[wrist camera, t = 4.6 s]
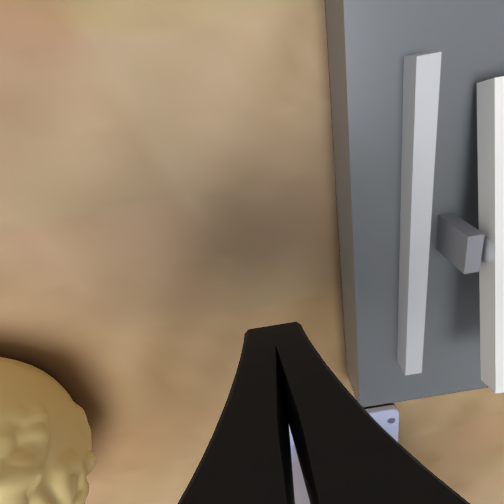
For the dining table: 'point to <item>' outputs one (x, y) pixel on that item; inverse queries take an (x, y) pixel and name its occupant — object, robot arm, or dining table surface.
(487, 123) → the rocker paddle
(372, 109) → the switch panel
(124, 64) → the dining table surface
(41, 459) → the sculpture
